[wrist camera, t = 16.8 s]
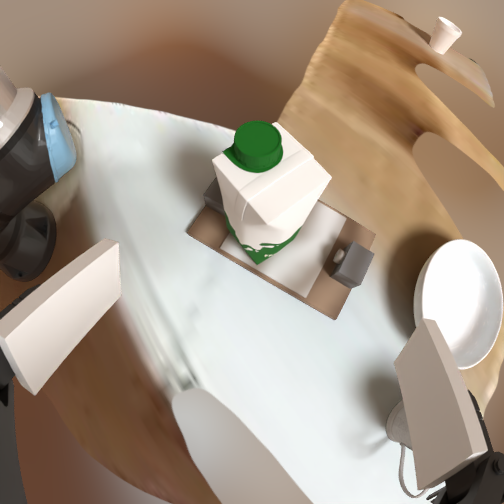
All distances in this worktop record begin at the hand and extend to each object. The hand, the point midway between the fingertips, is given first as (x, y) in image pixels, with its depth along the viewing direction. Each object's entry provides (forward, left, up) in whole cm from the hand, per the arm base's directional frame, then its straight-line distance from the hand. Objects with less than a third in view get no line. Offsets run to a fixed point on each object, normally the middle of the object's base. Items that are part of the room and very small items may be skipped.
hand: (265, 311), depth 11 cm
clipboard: (-2, +14, -29) cm, 32 cm away
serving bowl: (+29, +18, -30) cm, 45 cm away
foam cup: (+13, +106, -30) cm, 110 cm away
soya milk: (-5, +12, -28) cm, 31 cm away
